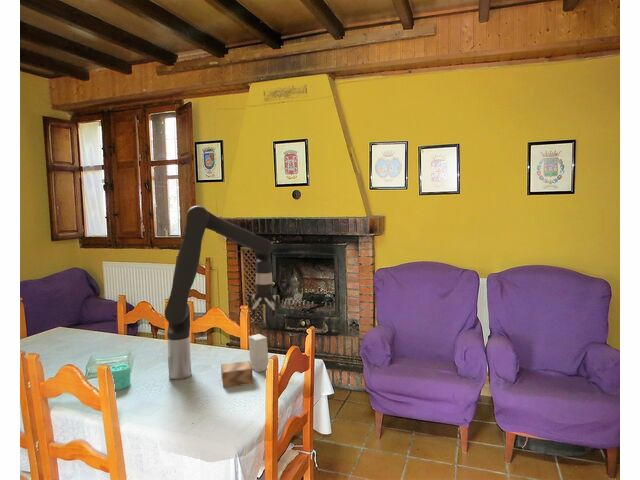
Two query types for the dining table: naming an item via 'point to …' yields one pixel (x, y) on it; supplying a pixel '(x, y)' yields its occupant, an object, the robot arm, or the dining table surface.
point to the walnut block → (236, 373)
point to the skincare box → (258, 352)
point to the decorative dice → (121, 376)
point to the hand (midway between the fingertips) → (264, 317)
